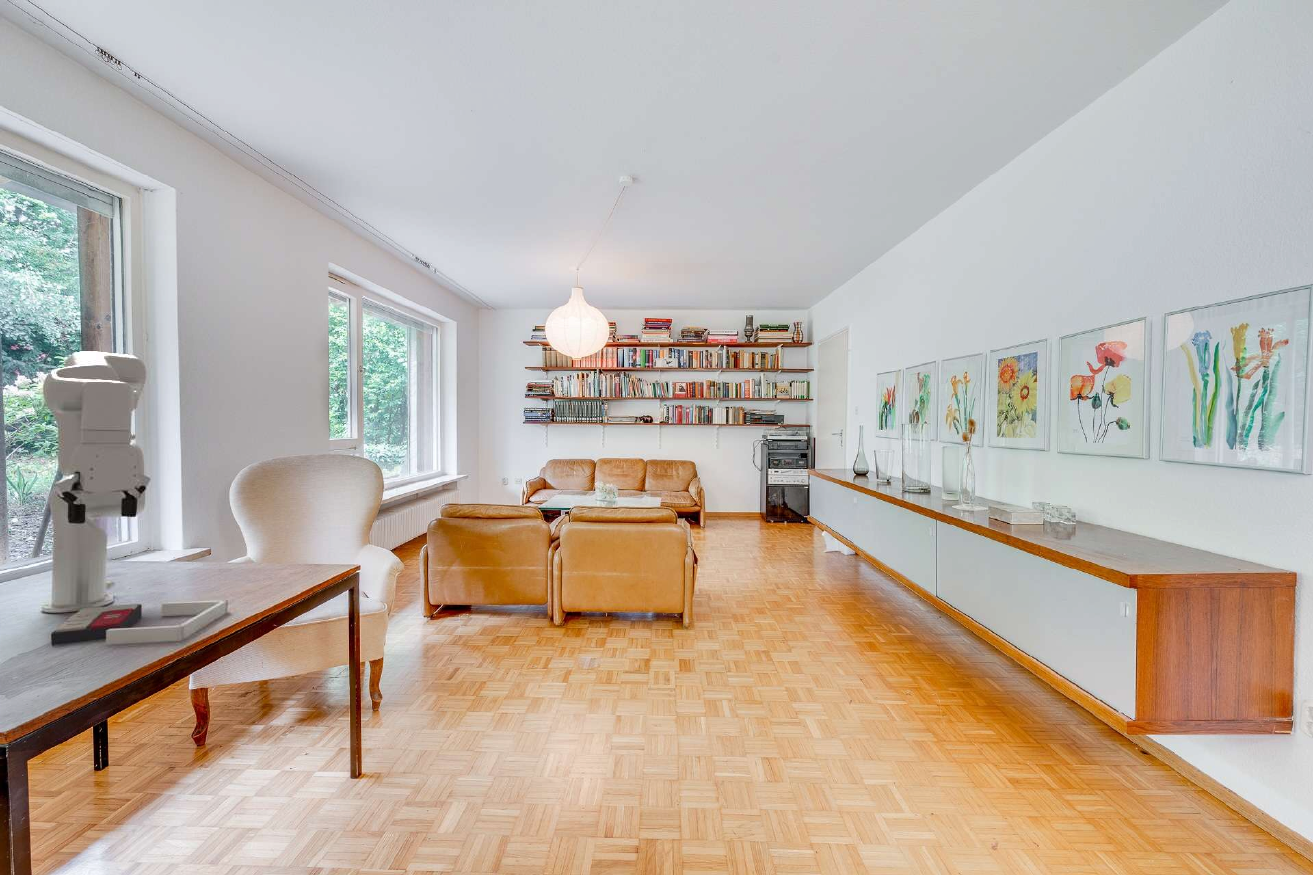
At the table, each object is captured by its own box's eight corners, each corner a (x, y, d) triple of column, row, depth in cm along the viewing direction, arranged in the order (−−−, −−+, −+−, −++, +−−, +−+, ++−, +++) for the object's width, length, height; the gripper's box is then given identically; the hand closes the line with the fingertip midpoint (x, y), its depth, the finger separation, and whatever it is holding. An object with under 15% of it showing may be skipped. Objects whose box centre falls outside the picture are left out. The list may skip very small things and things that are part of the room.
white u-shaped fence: (164, 614, 136) (164, 602, 136) (227, 611, 140) (227, 600, 140) (105, 644, 117) (106, 630, 117) (181, 640, 120) (181, 626, 120)
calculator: (50, 630, 115) (79, 606, 128) (50, 650, 116) (79, 624, 129) (121, 622, 121) (142, 600, 134) (120, 641, 121) (142, 618, 134)
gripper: (135, 438, 126) (132, 513, 126) (40, 438, 109) (37, 525, 109) (163, 439, 125) (161, 515, 125) (72, 439, 108) (69, 527, 108)
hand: (103, 519), depth 117 cm, fingers open, 9 cm apart
